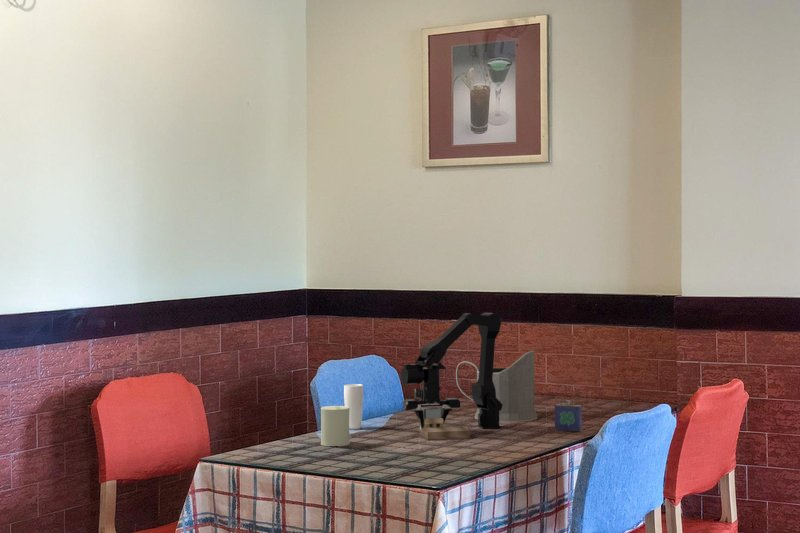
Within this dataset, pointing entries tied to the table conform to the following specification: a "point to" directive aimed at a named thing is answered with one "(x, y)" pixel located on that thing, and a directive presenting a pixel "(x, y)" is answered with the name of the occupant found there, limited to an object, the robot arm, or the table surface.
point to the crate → (431, 413)
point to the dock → (445, 433)
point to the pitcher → (513, 389)
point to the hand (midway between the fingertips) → (431, 429)
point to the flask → (568, 417)
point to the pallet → (432, 423)
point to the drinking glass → (354, 404)
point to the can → (335, 426)
